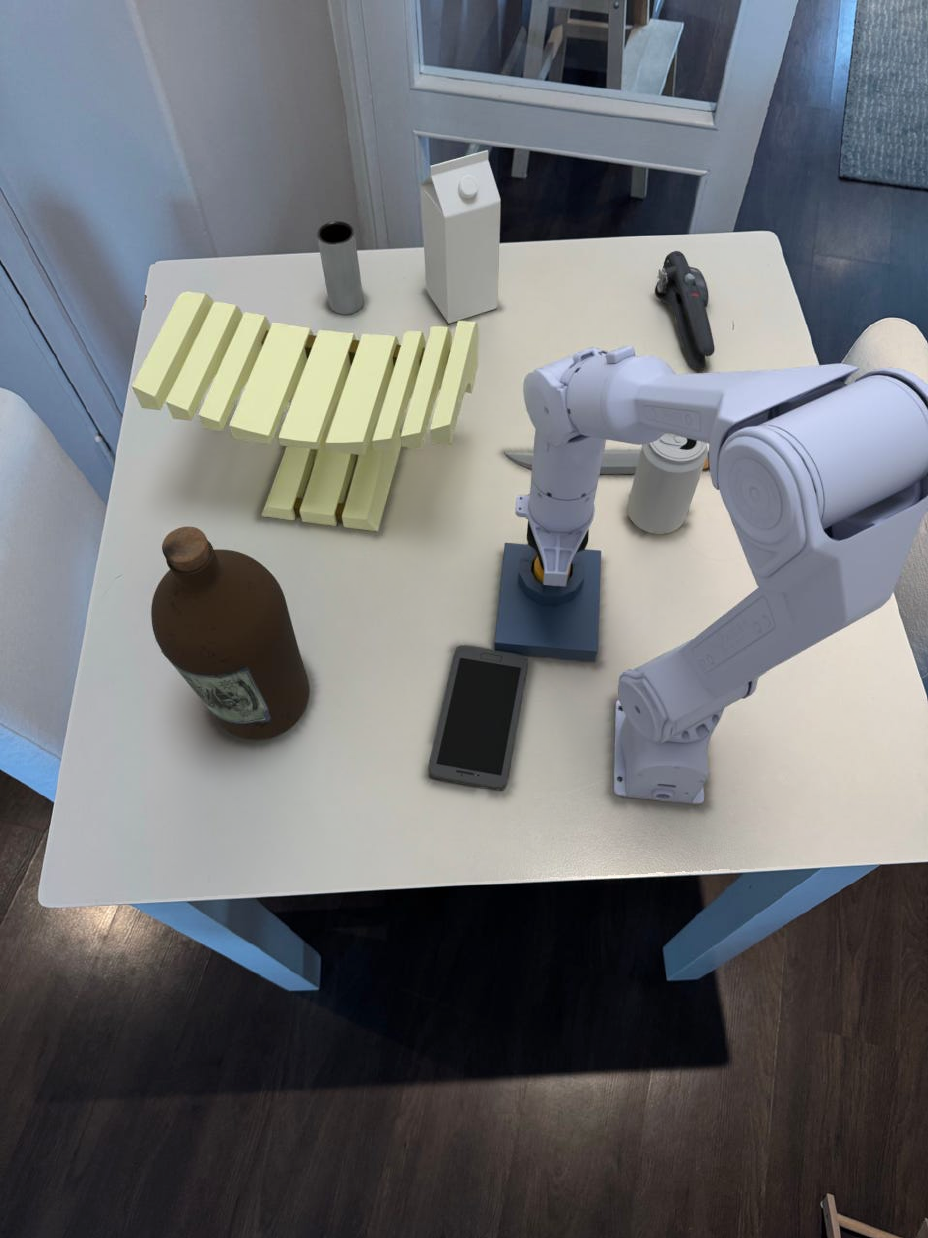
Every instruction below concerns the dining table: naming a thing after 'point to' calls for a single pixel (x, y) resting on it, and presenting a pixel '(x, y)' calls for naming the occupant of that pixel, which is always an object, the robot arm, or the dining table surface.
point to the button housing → (548, 608)
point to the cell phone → (479, 717)
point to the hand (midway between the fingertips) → (552, 564)
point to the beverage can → (666, 482)
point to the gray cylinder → (340, 267)
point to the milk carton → (461, 236)
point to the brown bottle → (229, 636)
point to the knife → (610, 463)
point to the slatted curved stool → (311, 399)
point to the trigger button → (542, 571)
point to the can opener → (687, 306)
